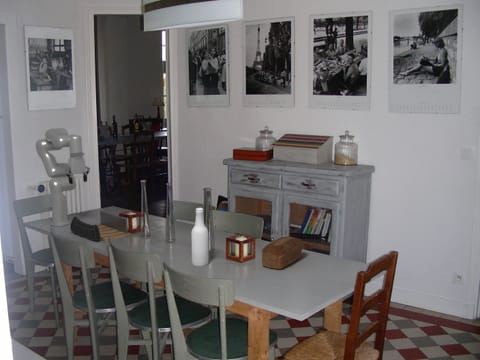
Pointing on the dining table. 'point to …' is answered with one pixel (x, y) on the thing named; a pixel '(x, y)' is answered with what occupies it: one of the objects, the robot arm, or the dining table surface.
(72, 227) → the magazine
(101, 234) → the shelf board
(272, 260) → the bread
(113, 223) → the shelf wall
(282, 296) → the dining table surface
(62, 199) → the robot arm
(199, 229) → the alcohol
